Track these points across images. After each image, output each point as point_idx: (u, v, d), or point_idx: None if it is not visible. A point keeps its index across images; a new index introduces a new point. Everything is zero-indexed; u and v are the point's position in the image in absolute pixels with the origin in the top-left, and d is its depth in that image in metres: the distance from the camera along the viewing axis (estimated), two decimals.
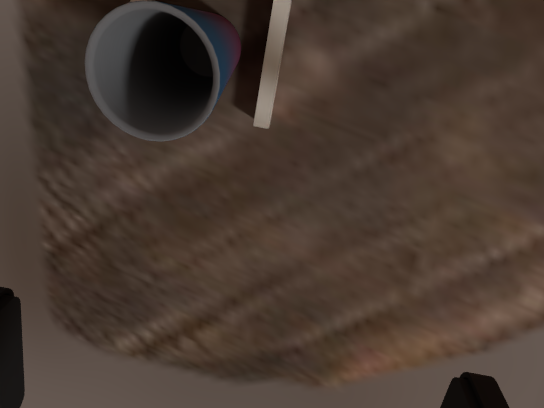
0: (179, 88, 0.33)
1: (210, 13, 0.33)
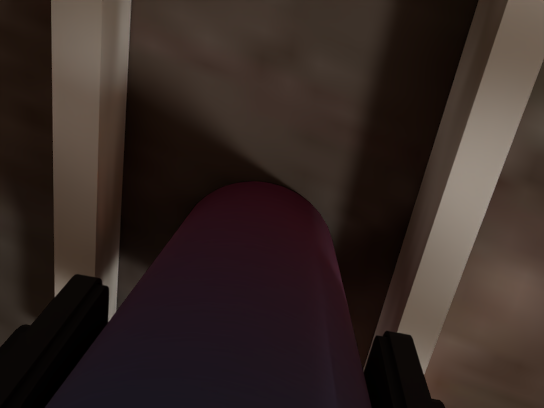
0: None
1: (281, 246, 0.11)
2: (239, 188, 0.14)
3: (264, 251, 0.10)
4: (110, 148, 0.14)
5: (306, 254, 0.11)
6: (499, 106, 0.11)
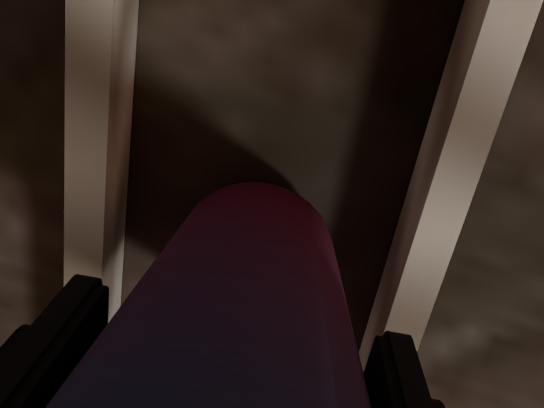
0: None
1: (281, 247, 0.11)
2: (239, 189, 0.14)
3: (264, 252, 0.10)
4: None
5: (306, 255, 0.11)
6: None
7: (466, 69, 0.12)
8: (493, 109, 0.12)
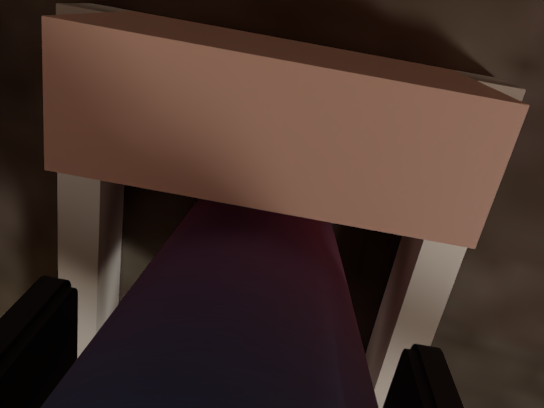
0: None
1: (285, 235, 0.11)
2: None
3: (268, 239, 0.10)
4: None
5: (309, 243, 0.11)
6: None
7: (409, 277, 0.14)
8: (434, 310, 0.14)
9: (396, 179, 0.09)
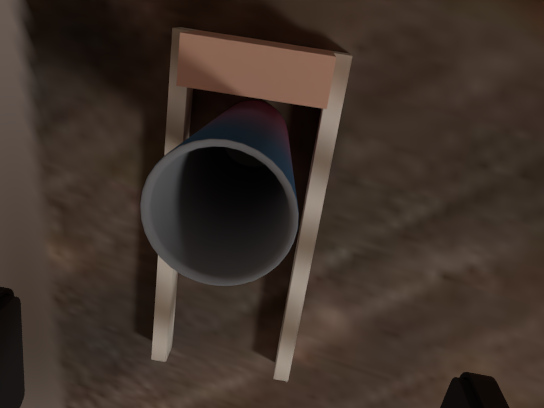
0: (227, 192, 0.30)
1: (261, 110, 0.29)
2: (244, 101, 0.33)
3: (254, 109, 0.29)
4: (175, 271, 0.38)
5: (270, 114, 0.30)
6: (303, 261, 0.36)
7: (317, 139, 0.32)
8: (328, 154, 0.33)
9: (297, 84, 0.28)
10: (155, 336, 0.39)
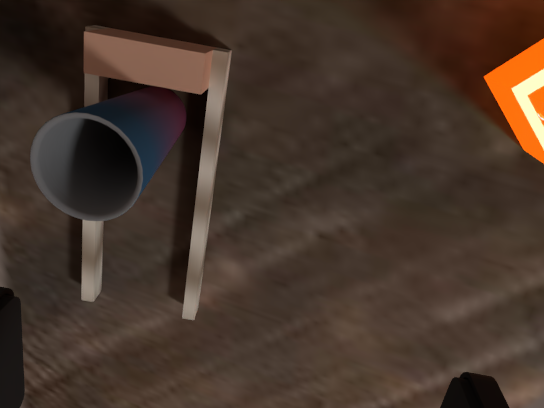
0: (126, 158, 0.38)
1: (152, 94, 0.37)
2: (148, 87, 0.41)
3: (146, 93, 0.37)
4: (98, 226, 0.46)
5: (161, 98, 0.38)
6: (200, 219, 0.44)
7: (205, 119, 0.40)
8: (214, 131, 0.41)
9: (176, 74, 0.36)
10: (83, 280, 0.47)
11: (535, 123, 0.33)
